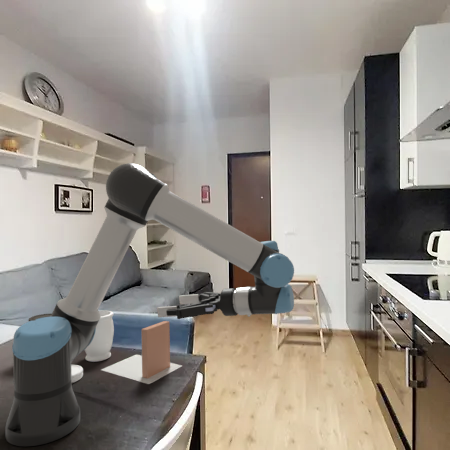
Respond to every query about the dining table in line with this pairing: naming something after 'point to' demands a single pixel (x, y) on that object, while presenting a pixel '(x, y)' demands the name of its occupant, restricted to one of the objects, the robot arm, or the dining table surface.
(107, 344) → the jar
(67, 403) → the robot arm
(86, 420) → the dining table surface
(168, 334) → the tile
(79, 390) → the dining table surface
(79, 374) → the white bowl
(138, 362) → the mat
